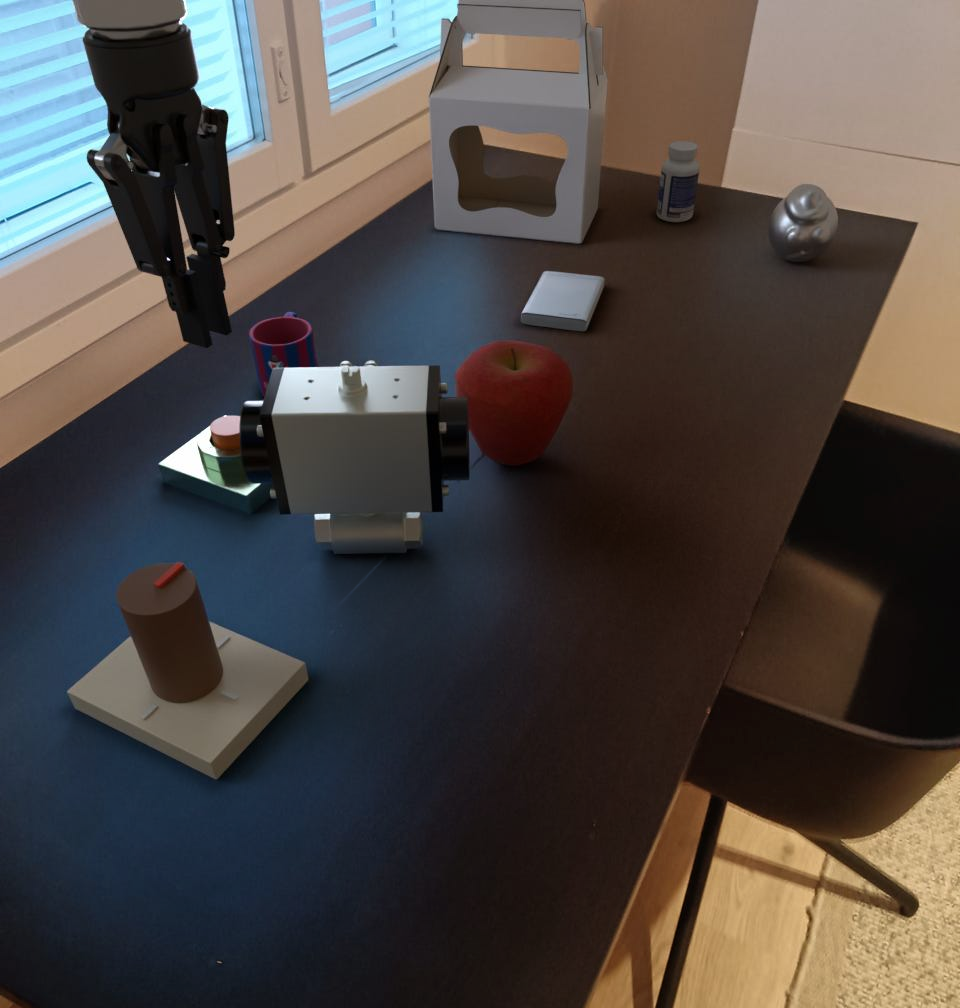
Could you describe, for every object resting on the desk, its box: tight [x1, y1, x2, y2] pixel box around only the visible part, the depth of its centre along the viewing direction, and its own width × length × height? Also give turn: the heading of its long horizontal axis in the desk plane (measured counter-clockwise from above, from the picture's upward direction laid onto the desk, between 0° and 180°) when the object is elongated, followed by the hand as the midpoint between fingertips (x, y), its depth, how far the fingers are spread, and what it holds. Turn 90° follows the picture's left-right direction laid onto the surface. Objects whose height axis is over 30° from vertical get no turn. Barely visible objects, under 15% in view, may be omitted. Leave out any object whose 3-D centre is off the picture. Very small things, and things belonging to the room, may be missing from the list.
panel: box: [66, 621, 310, 781], centre depth 71 cm, size 14×11×2 cm
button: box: [209, 414, 240, 450], centre depth 89 cm, size 4×4×2 cm
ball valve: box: [239, 360, 470, 555], centre depth 78 cm, size 18×8×18 cm, turn 91°
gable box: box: [428, 0, 609, 245], centre depth 127 cm, size 22×13×28 cm, turn 75°
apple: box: [454, 340, 574, 467], centre depth 89 cm, size 11×11×12 cm
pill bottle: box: [655, 140, 701, 223], centre depth 134 cm, size 5×5×10 cm
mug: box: [248, 311, 319, 397], centre depth 103 cm, size 7×10×7 cm
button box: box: [157, 414, 274, 515], centre depth 91 cm, size 11×10×4 cm
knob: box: [115, 561, 223, 703], centre depth 67 cm, size 5×5×9 cm
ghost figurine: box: [767, 183, 839, 263], centre depth 123 cm, size 9×10×10 cm
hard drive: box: [520, 270, 605, 332], centre depth 117 cm, size 2×8×12 cm
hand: (207, 336), depth 82 cm, fingers open, 2 cm apart
